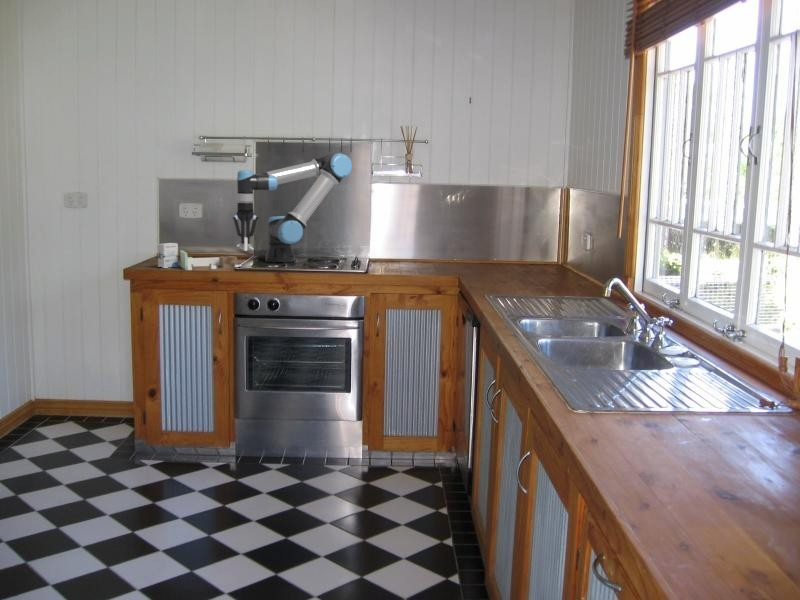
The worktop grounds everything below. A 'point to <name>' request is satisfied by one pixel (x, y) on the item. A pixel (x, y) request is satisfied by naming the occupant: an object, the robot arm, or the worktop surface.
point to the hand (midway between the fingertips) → (245, 250)
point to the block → (227, 261)
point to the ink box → (168, 255)
